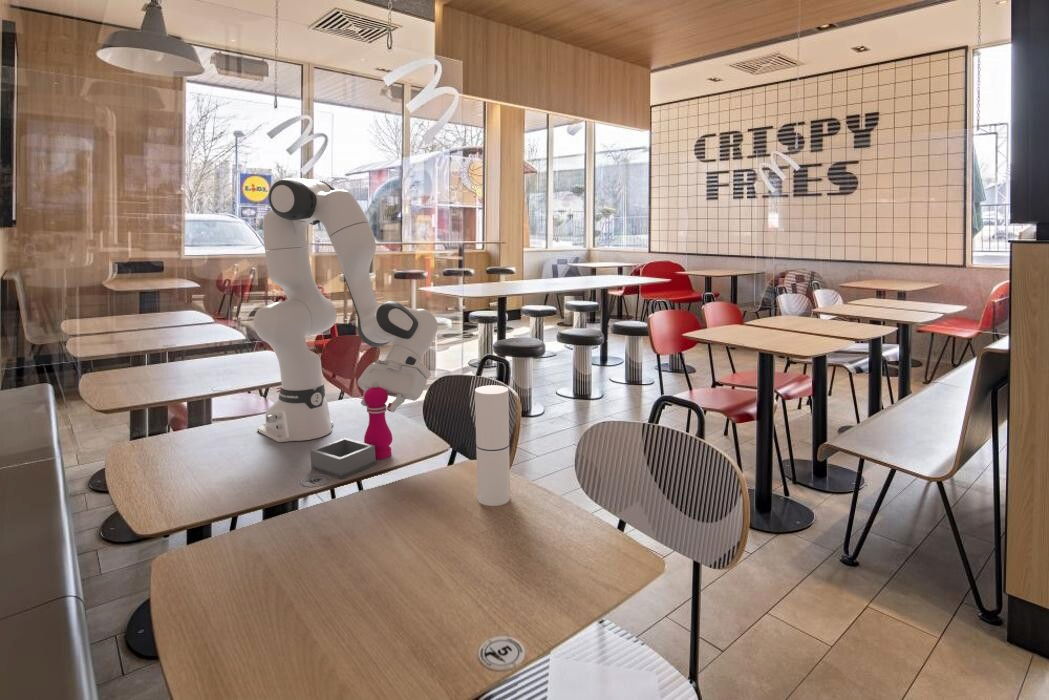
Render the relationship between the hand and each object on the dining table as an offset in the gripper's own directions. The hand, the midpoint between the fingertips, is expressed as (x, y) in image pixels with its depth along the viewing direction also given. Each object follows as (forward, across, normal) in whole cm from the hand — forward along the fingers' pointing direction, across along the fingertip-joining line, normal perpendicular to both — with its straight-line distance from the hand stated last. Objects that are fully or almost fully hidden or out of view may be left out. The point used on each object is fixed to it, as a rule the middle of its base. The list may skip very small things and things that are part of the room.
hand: (376, 408), depth 164 cm
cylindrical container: (+13, +41, +6) cm, 43 cm away
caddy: (+17, -2, +2) cm, 17 cm away
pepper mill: (+9, 0, +9) cm, 13 cm away
